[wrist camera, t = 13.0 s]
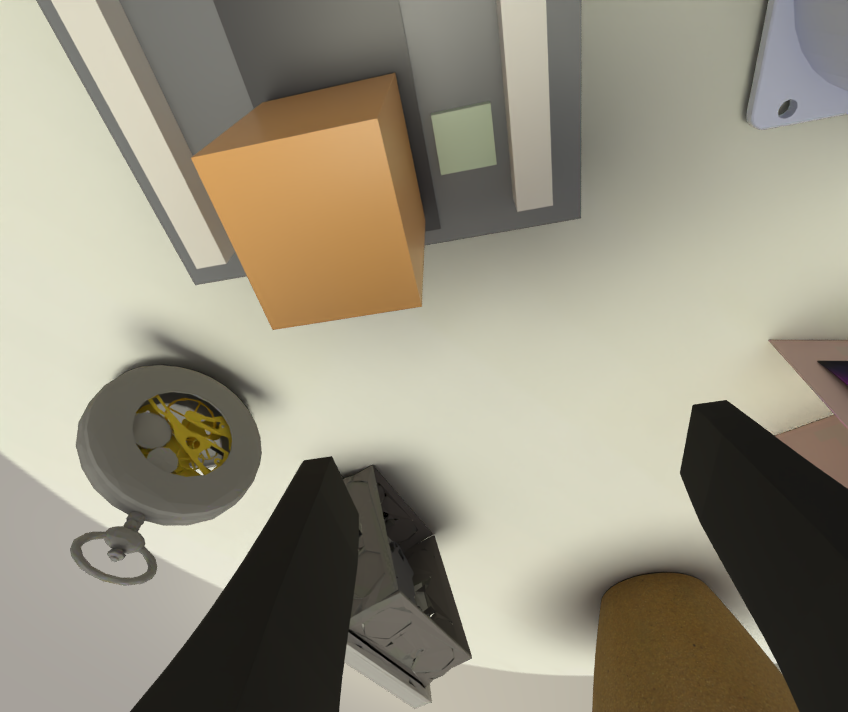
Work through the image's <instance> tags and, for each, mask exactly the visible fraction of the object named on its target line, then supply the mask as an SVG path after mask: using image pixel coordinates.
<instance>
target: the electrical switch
mask: <svg viewBox="0 0 848 712" xmlns="http://www.w3.org/2000/svg"><path fill="white" fill-rule="evenodd" d="M343 481H344V483H345V485H346V487H347V490H348V492H349V494H350V496H351V498H352V500H353V503H354V505H355V507H356V509H357V511H358V513H359V546H358V566H357V574H356V582H355V589H354V597H353V604H352V611H351V618H350V625H349V632H348V639H347V647H346V654H345V661H344V663H346V664H347V665H349V666H350V667H352V668H353V669H355V670H357V671H358V672H360V673H361V674H363V675H364V676H365V677H367V678H369V679H370V680H372V681H373V682H375V683H376V684H378V685H379V686H381V687H382V688H384V689H385V690H387V691H388V692H390V693H391V694H393V695H394V696H396V697H397V698H399V699H400V700H402V701H403V702H405V703H406V704H408V705H410V706H411V707H413V708H414V709H416V708H418V707H421V706H423V705H426V704H428V703H432V700H431V691H430V683H431V682H432V680H433V679H436V678H438V677H441V676H443V675H444V674H445V673H446V672H447V671H449V670H450V669H451V668H453V667H455V666H457V665H459V664H461V663H463V662H465V661H468V660H470V659H472V657H471V656H472V655H471V652H470V649H469V646H468V642H467V639H466V636H465V633H464V630H463V626H462V623H461V620H460V617H459V613H458V610H457V607H456V604H455V600H454V597H453V594H452V591H451V588H450V584H449V581H448V578H447V575H446V571H445V568H444V565H443V562H442V558H441V555H440V552H439V549H438V546H437V542H436V539H435V536H431V535H432V532H431V531H430V530H429V529H428V528H427V527H426V526H425V524H424V523H423V522H422V521H421V520H420V519H419V518H418V516H417V515H416V514H415V513H414V512H413V511H412V510H411V508H410V507H409V506H408V505H407V504H406V503H405V502H404V500H403V499H402V498H401V497H400V496H399V495H398V494H397V492H396V491H395V490H394V489H393V488H392V487H391V486H390V484H389V483H388V482H387V481H386V480H385V479H384V478H383V476H382V475H381V474H380V473H379V472H378V471H377V470H376V468H375V467H374V466H373V465H372V466H370V467H368V468H366V469H364V470H363V471H361V472H359V473H357V474H355V475H353V476H350V477H347V478H344V479H343ZM376 483H379V484H381V485H378V484H376ZM384 492H385V493H386V497H385V493H384ZM382 501H383V502H382ZM383 512H386V513H387V514H388V516H387V517H386V518H385V519H384V517H383ZM395 519H399V520H395ZM412 520H413V521H412ZM415 532H416V533H415ZM429 536H431V537H429ZM427 537H429V538H427ZM426 538H427V539H426ZM424 539H425V540H424ZM422 540H423V541H422ZM433 613H434V614H433ZM431 614H433V615H432V616H431V617H430V615H431Z"/></svg>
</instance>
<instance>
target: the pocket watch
mask: <svg viewBox="0 0 848 712" xmlns="http://www.w3.org/2000/svg"><path fill="white" fill-rule="evenodd" d="M76 448H77V452H78V456H79V459H80V463H81V467H82V470H83V471H84V473H85V475H86V476H87V478H88V480H89V481H90V483H91V485H92V486H93V488H94V489H95V490H96V491H97V492H98V493H99V494H100V495H102V496H103V497H104V498H105V499H106V500H107V501H108V502H109V503H110V504H111V505H112V506H114V507H116V508H118V509H119V510H121V511H123V512H125V513H127V514H128V517H127V521H126V522H125V524H124V527H123V526H117V527H112V528H109V529H108V530H107V531H106V532H89V533H85V534H84V535H82V536H80V537H78V538H76V539H75V540H74V541H73V543H72V546H71V548H70V551H71V556H72V558H73V559H74V560H75V562H76V563H77V565H78V566H79V567H80V568H81V569H82V570H83V571H85V572H86V573H88V574H89V575H92V576H93V577H95V578H98V579H100V580H102V581H105V582H109V583H114V584H119V585H135V584H142V583H144V582H146V581H148V580H150V579H152V578H153V576H154V575H155V574H156V570H157V564H156V559H155V558H154V556H153V555H152V554H151V553H150V552H149V551H148V550H147V549H146V548H145V547H144V545H145V540H144V538H143V537H142V535H141V534H140V533H138V530H139V528H140V527H141V526H140V525H143V523H144V521H148V522H152V523H156V524H160V525H191V524H195V523H199V522H203V521H207V520H211V519H214V518H215V517H217V516H218V515H220V514H222V513H223V512H225V511H226V510H228V509H229V508H231V507H232V506H234V505H235V504H236V503H237V502H238V501H239V500H240V499H241V498H242V497H243V496H244V494H245V493H246V491H247V490H248V489H249V487H250V486H251V484H252V483H253V481H254V479H255V476H256V473H257V470H258V468H259V465H260V460H261V454H262V452H261V441H260V435H259V432H258V428H257V425H256V423H255V421H254V419H253V417H252V415H251V413H250V412H249V411H248V409H247V408H246V407H245V405H244V404H243V403H242V402H241V400H240V399H239V398H238V397H237V396H236V395H235V394H234V393H233V392H231V391H230V390H229V389H228V388H227V387H225V386H224V385H223V384H221V383H219V382H218V381H216V380H214V379H213V378H211V377H209V376H206V375H204V374H202V373H199V372H197V371H193V370H189V369H185V368H181V367H173V366H165V365H155V366H143V367H138V368H135V369H133V370H130V371H127V372H125V373H124V374H122V375H121V376H119V377H118V378H116V379H115V380H113V381H111V382H110V383H108V384H106V385H105V386H104V387H103V388H102V389H101V390H100V391H99V392H98V393H97V394H96V395H95V397H94V398H93V399H92V400H91V401H90V402H89V404H88V406H87V408H86V409H85V411H84V413H83V415H82V417H81V419H80V421H79V424H78V432H77V440H76ZM215 466H216V467H215ZM209 467H215V468H214V469H213V470H212V471H211V470H209V469H208V468H209ZM192 468H193V469H192ZM196 469H200V470H201V472H202V473H203V474H204V475H200V474H199V473H197V472H196ZM94 539H104V540H105V542H106V544H107V545H109V547H111V548H112V549H111V550H110V551H109V552H108V553H107V555H108V556H109V558H110V559H111V560H112V561H114V562H116V561H119V560H123V559H124V557H125V556H126V555H125V553H127V554H129V553H134V552H140V553H141V554H143V556H144V558H145V560H146V562H147V564H148V570H147V572H146V573H144V574H142V575H141V576H138V577H134V578H120V577H116V576H112V575H109V574H105V573H103V572H101V571H100V570H98V569H96V568H94V567H92V566H91V565H90V563H89V562H88V561H87V560H86V559H85V558H84V556H83V554H82V550H81V546H82V545H83V544H84V543H85V542H88V541H90V540H94Z"/></svg>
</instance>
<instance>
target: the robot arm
mask: <svg viewBox="0 0 848 712" xmlns="http://www.w3.org/2000/svg"><path fill="white" fill-rule="evenodd" d="M788 100H790V105H789V107H788V109H787V110H786V111H785V112H784V113H783V114H781V115H779V116H778V110H779V108H780V106H781V105H782V104H783V103H784V102H785V101H788ZM845 114H848V0H769V1H768V6H767V11H766V16H765V21H764V27H763V32H762V37H761V42H760V47H759V52H758V57H757V62H756V67H755V73H754V78H753V83H752V88H751V93H750V98H749V103H748V108H747V121H748V123H749V125H751V126H753V127H755V128H757V129H761V130H765V129H771V128H776V127H781V126H787V125H792V124H797V123H803V122H808V121H813V120H819V119H824V118H829V117H835V116H840V115H845ZM680 475H681V477H682V480H683V482H684V485H685V487H686V490H687V492H688V495H689V497H690V500H691V502H692V505H693V507H694V509H695V512H696V514H697V516H698V519H699V521H700V523H701V525H702V527H703V529H704V531H705V532H706V534H707V536H708V538H709V540H710V542H711V543H712V545H713V547H714V549H715V551H716V552H717V554H718V556H719V558H720V560H721V561H722V563H723V565H724V567H725V569H726V570H727V572H728V574H729V576H730V578H731V579H732V581H733V583H734V585H735V586H736V588H737V590H738V592H739V594H740V595H741V597H742V599H743V601H744V602H745V604H746V606H747V608H748V610H749V611H750V613H751V615H752V617H753V618H754V620H755V622H756V624H757V626H758V627H759V629H760V631H761V633H762V634H763V636H764V638H765V640H766V642H767V644H768V646H769V648H770V650H771V652H772V654H773V656H774V658H775V659H776V661H777V663H778V665H779V667H780V670H781V672H782V674H783V676H784V679H785V681H786V683H787V685H788V687H789V690H790V692H791V694H792V696H793V699H794V701H795V703H796V705H797V707H798V710H799V712H848V488H846V487H845V486H843V485H842V484H841V483H839V482H838V481H836V480H835V479H833V478H832V477H831V476H829V475H828V474H826V473H825V472H823V471H822V470H821V469H819V468H818V467H816V466H815V465H814V464H812V463H811V462H809V461H808V460H807V459H805V458H804V457H802V456H801V455H800V454H798V453H797V452H796V451H794V450H793V449H792V448H790V447H789V446H788V445H786V444H785V443H783V442H782V441H781V440H779V439H778V438H777V437H775V436H774V435H773V434H771V433H770V432H769V431H767V430H766V429H765V428H763V427H762V426H761V425H759V424H758V423H757V422H755V421H754V420H753V419H751V418H750V417H748V416H747V415H746V414H744V413H743V412H742V411H740V410H739V409H738V408H736V407H735V406H734V405H732V404H731V403H730V402H728V401H727V400H723V401H716V402H709V403H702V404H695V405H693V406H692V412H691V417H690V422H689V428H688V433H687V438H686V444H685V449H684V454H683V459H682V465H681V470H680ZM358 546H359V513H358V511H357V509H356V507H355V505H354V503H353V500H352V498H351V496H350V494H349V492H348V490H347V487H346V485H345V483H344V481H343V479H342V477H341V475H340V472H339V470H338V468H337V466H336V464H335V462H334V460H333V457H332V456H331V457H324V458H317V459H310V460H304V461H303V463H302V464H301V465H300V467H299V469H298V470H297V472H296V474H295V476H294V477H293V479H292V481H291V482H290V484H289V486H288V488H287V489H286V491H285V493H284V495H283V496H282V498H281V500H280V501H279V503H278V505H277V506H276V508H275V510H274V512H273V513H272V515H271V517H270V518H269V520H268V522H267V523H266V525H265V527H264V528H263V530H262V531H261V533H260V535H259V536H258V538H257V539H256V541H255V543H254V544H253V546H252V547H251V549H250V551H249V552H248V554H247V555H246V557H245V559H244V560H243V562H242V563H241V565H240V566H239V568H238V569H237V571H236V572H235V574H234V575H233V577H232V578H231V580H230V581H229V583H228V584H227V586H226V587H225V588H224V590H223V591H222V593H221V594H220V596H219V597H218V599H217V600H216V602H215V603H214V605H213V606H212V608H211V609H210V611H209V612H208V613H207V615H206V616H205V617H204V619H203V620H202V621H201V623H200V624H199V626H198V627H197V628H196V630H195V631H194V632H193V634H192V635H191V637H190V638H189V639H188V640H187V642H186V643H185V644H184V646H183V647H182V648H181V650H180V651H179V652H178V653H177V655H176V656H175V657H174V659H173V660H172V661H171V662H170V664H169V665H168V666H167V668H166V669H165V670H164V671H163V672H162V674H161V675H160V676H159V678H158V679H157V680H156V681H155V682H154V683H153V685H152V686H151V687H150V688H149V689H148V691H147V692H146V693H145V694H144V695H143V697H142V698H141V699H140V700H139V701H138V703H137V704H136V705H135V706H134V708H133V709H132V710H131V711H130V712H339V705H340V693H341V684H342V675H343V668H344V661H345V654H346V647H347V639H348V632H349V625H350V618H351V611H352V604H353V597H354V589H355V582H356V574H357V566H358Z"/></svg>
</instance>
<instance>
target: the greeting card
mask: <svg viewBox="0 0 848 712" xmlns="http://www.w3.org/2000/svg"><path fill="white" fill-rule="evenodd" d="M769 342H770V343H771V344H772V345H773V346H774V347H775V348H776V350H777V351H778V352H779V353H780V354H781V355H782V356H783V357H784V359H785V360H786V361H787V362H788V363H789V364H790V365H791V366H792V367H793V369H794V370H795V371H796V372H797V373H798V374H799V375H800V376H801V378H802V379H803V380H804V381H805V382H806V383H807V384H808V385H809V386H810V388H811V389H812V390H813V391H814V392H815V393H816V394H817V395H818V397H819V398H820V399H821V400H822V401H823V402H824V403H825V404H826V405H827V407H828V408H829V409H830V410H831V411H832V412H833V413H834V414H835V415H833V416H830V417H827V418H824V419H821V420H818V421H816V422H813V423H810V424H807V425H804V426H801V427H799V428H796V429H793V430H790V431H787V432H784V433H782V434H779V435H776V436H775V437H777V438H778V439H779V440H781V441H782V442H783V443H785V444H786V445H788V446H789V447H790V448H792V449H793V450H794V451H796V452H797V453H798V454H800V455H801V456H802V457H804V458H805V459H807V460H808V461H809V462H811V463H812V464H814V465H815V466H816V467H818V468H819V469H821V470H822V471H823V472H825V473H826V474H828V475H829V476H831V477H832V478H833V479H835V480H836V481H838V482H839V483H841V484H842V485H843V486H845V487H846V488H848V340H769Z"/></svg>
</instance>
